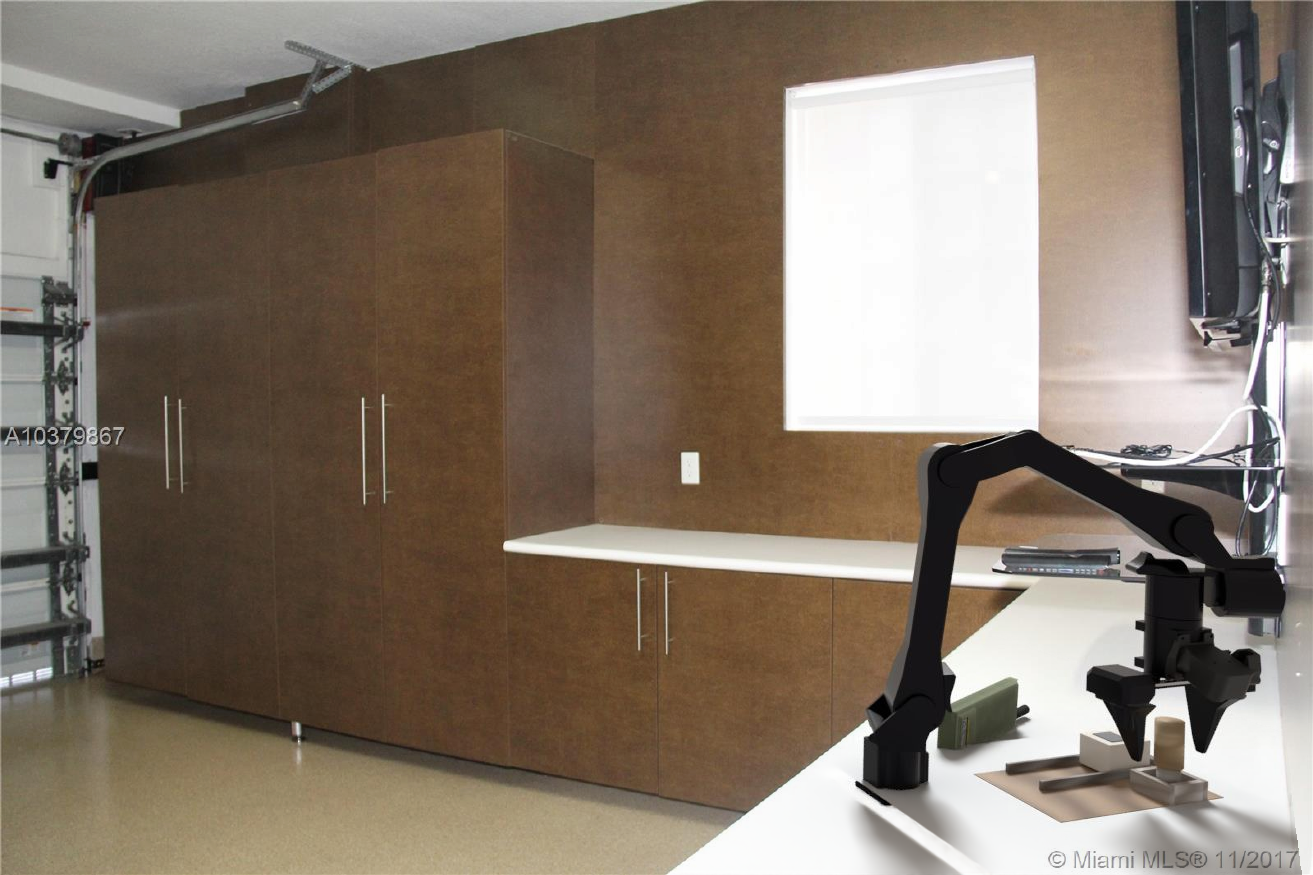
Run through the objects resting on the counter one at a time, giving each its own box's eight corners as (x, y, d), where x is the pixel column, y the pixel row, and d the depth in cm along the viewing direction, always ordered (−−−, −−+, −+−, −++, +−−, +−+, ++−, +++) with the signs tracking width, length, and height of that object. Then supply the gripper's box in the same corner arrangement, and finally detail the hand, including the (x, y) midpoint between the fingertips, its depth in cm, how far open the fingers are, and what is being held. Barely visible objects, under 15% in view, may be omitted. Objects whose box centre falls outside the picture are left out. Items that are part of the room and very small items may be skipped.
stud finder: (1108, 775, 114) (1109, 744, 114) (1079, 762, 118) (1080, 732, 118) (1149, 770, 116) (1150, 739, 116) (1119, 757, 120) (1119, 727, 120)
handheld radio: (931, 758, 124) (1013, 714, 143) (956, 766, 122) (1036, 720, 141) (934, 705, 124) (1016, 669, 143) (959, 712, 122) (1039, 674, 140)
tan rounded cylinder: (1168, 799, 107) (1170, 726, 107) (1146, 789, 110) (1148, 718, 110) (1190, 796, 108) (1191, 723, 108) (1167, 786, 111) (1169, 715, 111)
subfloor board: (1060, 836, 101) (1061, 802, 101) (973, 786, 114) (974, 756, 114) (1223, 810, 109) (1224, 779, 109) (1123, 766, 122) (1124, 738, 122)
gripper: (1167, 636, 98) (1162, 793, 99) (1304, 626, 104) (1299, 773, 105) (1084, 614, 109) (1080, 755, 109) (1213, 605, 115) (1209, 739, 115)
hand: (1168, 756), depth 109 cm, fingers open, 9 cm apart
